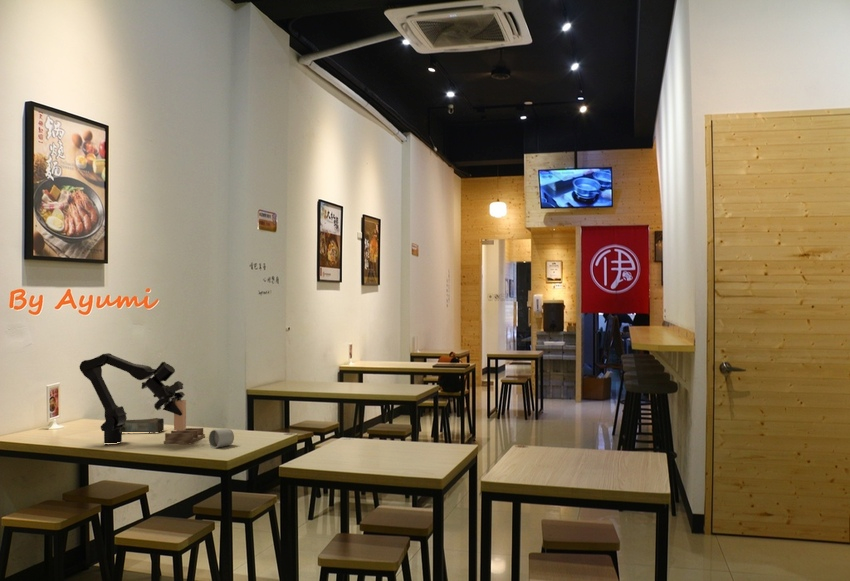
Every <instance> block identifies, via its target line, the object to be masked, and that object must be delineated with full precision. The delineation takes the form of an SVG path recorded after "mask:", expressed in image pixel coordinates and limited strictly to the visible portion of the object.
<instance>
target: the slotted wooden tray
mask: <svg viewBox="0 0 850 581" xmlns="http://www.w3.org/2000/svg"><path fill="white" fill-rule="evenodd" d="M205 435H206V434H205V433H204V427H186V429H185V430H171V431H170V432H166V433H164V440H163V445H186V444H187V445H188V444H189V445H190V444H193V443H195V442H197V441H199V440H200V439H203V438H205V437H206V436H205Z"/></svg>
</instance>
